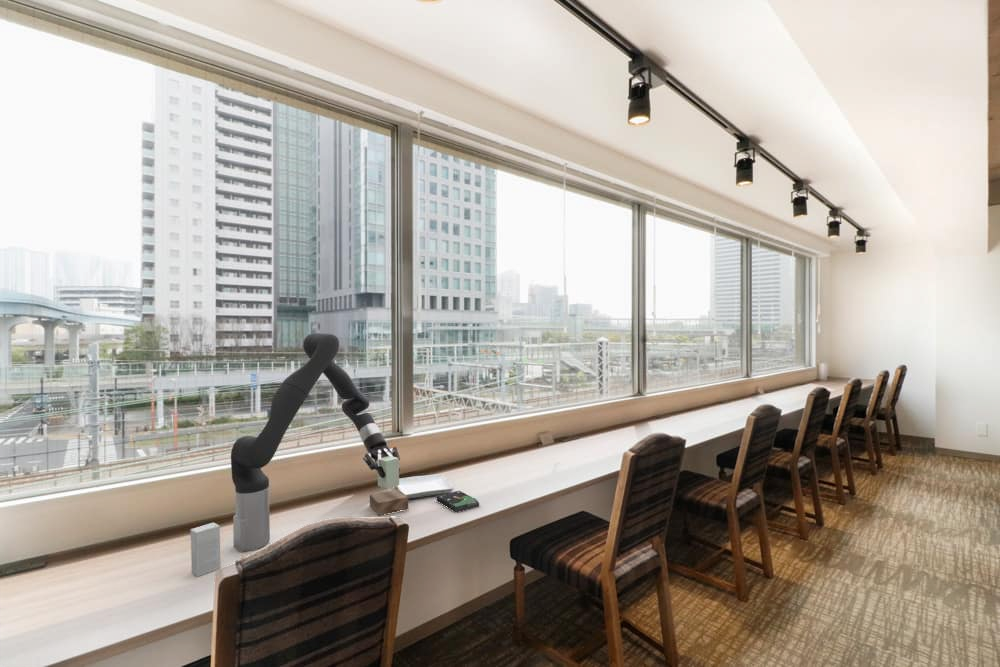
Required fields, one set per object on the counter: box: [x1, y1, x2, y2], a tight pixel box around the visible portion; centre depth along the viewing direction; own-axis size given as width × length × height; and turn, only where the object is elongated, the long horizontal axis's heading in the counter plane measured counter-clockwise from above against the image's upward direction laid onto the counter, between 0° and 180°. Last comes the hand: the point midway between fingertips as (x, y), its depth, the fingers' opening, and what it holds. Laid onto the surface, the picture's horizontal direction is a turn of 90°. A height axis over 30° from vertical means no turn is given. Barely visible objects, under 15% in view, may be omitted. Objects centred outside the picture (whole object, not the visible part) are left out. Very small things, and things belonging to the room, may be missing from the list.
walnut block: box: [369, 488, 409, 517], centre depth 174 cm, size 11×11×5 cm
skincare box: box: [190, 522, 222, 577], centre depth 130 cm, size 6×4×12 cm
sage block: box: [377, 456, 400, 490], centre depth 175 cm, size 6×6×10 cm
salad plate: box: [396, 473, 455, 500], centre depth 194 cm, size 21×21×3 cm
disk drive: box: [436, 490, 480, 513], centre depth 178 cm, size 10×3×15 cm
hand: (391, 474), depth 173 cm, fingers closed on sage block, 5 cm apart
